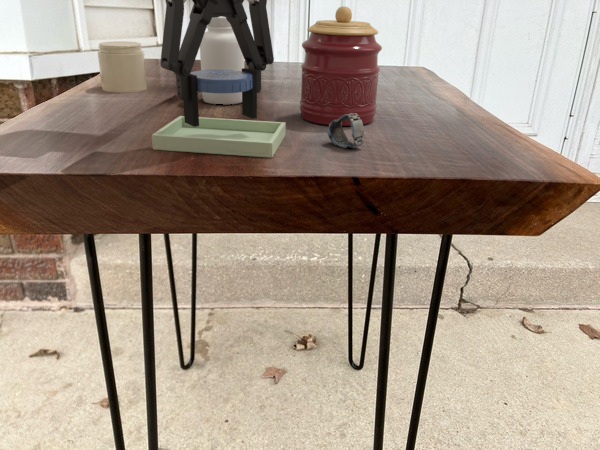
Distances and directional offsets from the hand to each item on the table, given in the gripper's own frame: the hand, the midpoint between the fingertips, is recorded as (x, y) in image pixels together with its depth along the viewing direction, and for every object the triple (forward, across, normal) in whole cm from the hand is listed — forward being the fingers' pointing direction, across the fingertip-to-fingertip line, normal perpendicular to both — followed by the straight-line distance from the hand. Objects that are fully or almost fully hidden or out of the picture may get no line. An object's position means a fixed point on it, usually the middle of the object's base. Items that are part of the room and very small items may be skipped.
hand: (221, 120), depth 73 cm
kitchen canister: (+3, +24, +3) cm, 24 cm away
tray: (+3, 0, 0) cm, 3 cm away
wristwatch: (+3, +14, -11) cm, 18 cm away
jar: (+3, -1, +35) cm, 35 cm away
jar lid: (-6, 0, 0) cm, 6 cm away
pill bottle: (+3, +14, +24) cm, 28 cm away
